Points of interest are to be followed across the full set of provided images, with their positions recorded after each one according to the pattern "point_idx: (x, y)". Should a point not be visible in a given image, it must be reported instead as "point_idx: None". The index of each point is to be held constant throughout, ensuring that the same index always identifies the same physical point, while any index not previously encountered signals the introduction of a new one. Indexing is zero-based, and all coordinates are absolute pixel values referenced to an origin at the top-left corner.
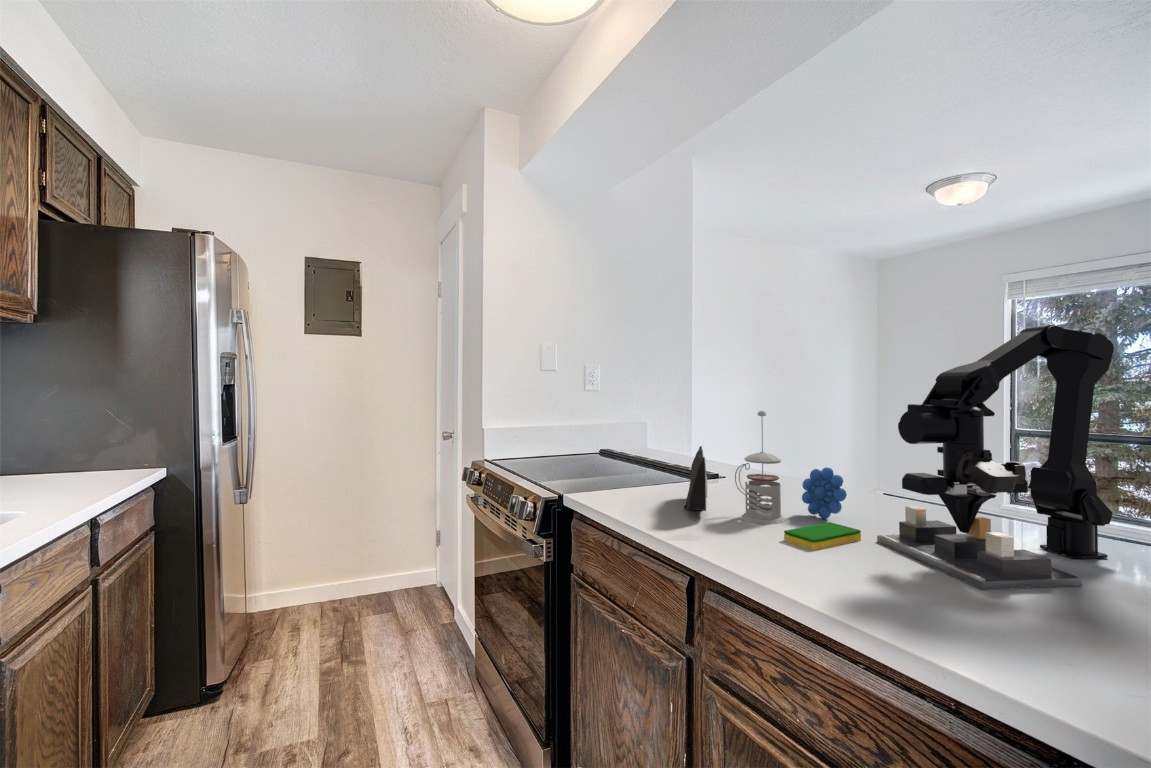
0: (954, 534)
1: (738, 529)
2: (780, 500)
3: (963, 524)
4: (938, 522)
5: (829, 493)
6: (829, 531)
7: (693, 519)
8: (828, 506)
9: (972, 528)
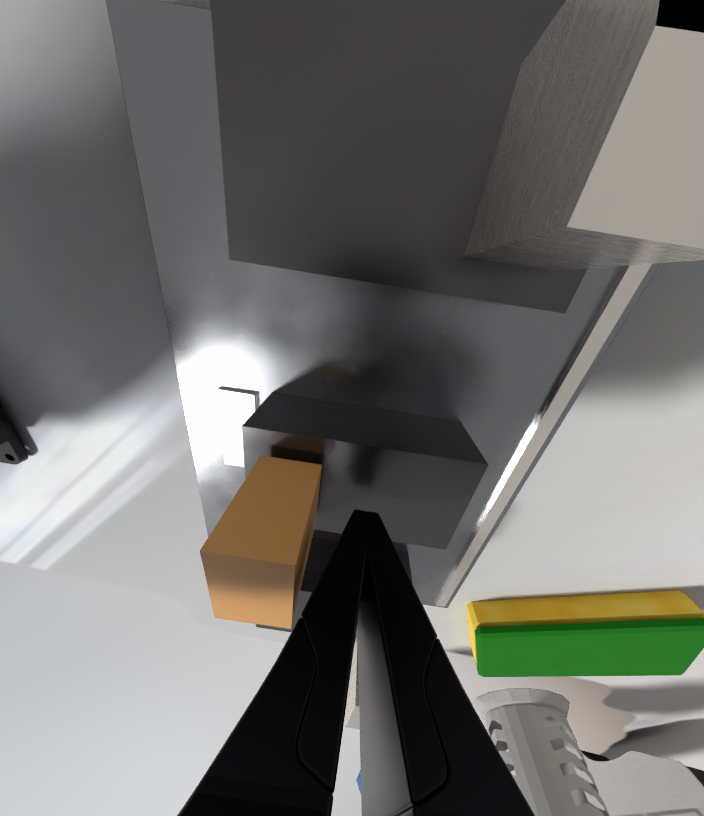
0: None
1: (654, 690)
2: (523, 771)
3: (397, 556)
4: None
5: None
6: (579, 648)
7: (660, 729)
8: None
9: (310, 529)
